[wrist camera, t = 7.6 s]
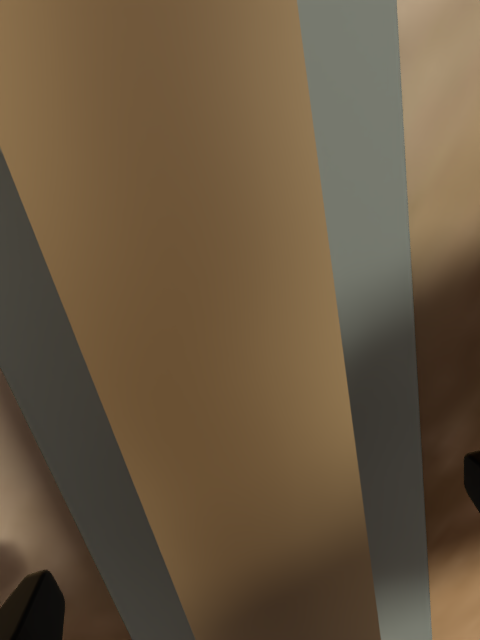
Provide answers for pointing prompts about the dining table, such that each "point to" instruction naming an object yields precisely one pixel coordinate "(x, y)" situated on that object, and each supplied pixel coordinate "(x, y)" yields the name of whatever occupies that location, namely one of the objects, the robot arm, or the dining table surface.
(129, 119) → the rail
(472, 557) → the dining table surface
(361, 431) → the mat
